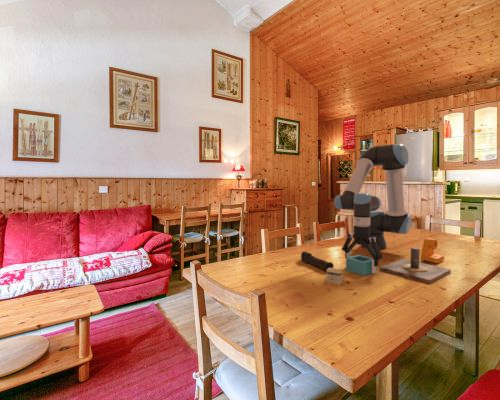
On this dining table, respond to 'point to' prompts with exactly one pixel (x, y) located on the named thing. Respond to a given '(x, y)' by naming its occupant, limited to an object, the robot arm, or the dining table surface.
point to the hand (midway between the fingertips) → (360, 269)
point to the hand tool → (315, 261)
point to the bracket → (430, 251)
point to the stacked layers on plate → (334, 276)
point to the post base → (416, 275)
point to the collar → (359, 264)
